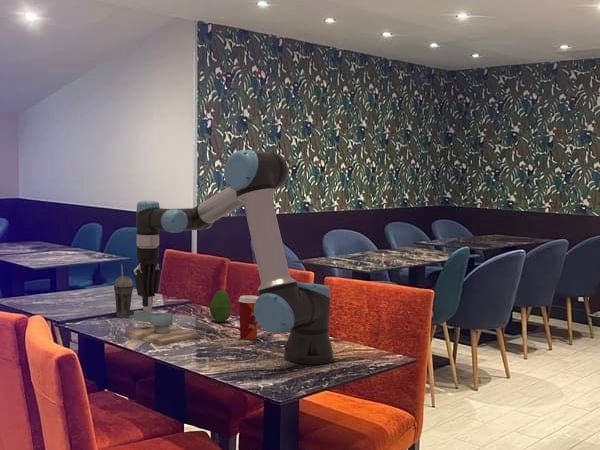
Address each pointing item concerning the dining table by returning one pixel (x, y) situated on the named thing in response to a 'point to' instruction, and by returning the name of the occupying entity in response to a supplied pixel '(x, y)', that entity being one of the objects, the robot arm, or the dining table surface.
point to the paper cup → (247, 317)
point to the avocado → (220, 306)
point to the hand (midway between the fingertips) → (147, 315)
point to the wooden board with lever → (161, 334)
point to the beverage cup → (123, 295)
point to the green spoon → (154, 318)
